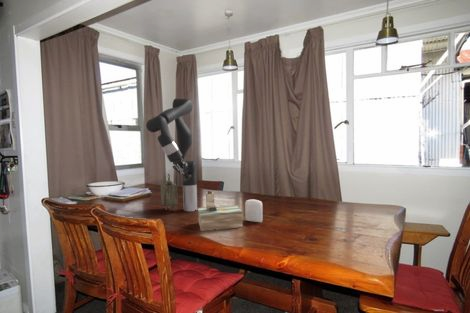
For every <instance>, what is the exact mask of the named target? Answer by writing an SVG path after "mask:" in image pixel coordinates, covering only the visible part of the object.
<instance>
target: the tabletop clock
mask: <svg viewBox="0 0 470 313" xmlns="http://www.w3.org/2000/svg"><path fill="white" fill-rule="evenodd" d="M167 176H168V177H167V180H166V181H165V182H164V184H162V185H160V199H161V200H160V201H161V205H162V206H163V207H166V208H165V209H164V210H165V211H166V210H167V211H168V210H169V208H168V207H170V208H171V209H173V212H177V208H175V206H178V203H179V202H178V186H177V183H174V182H173V181H172V180H171V179H170V178H171V175H170V173H167Z"/></svg>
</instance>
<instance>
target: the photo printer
mask: <svg viewBox="0 0 470 313" xmlns="http://www.w3.org/2000/svg"><path fill="white" fill-rule="evenodd" d="M244 205H245V206H244V211H245V216H244V218H245V221H247V222H248V221H249V222H253V223H262V222H263V220H264V219H263V218H264V217H263V202H262V201H261V200H258V199H253V198H252V199H247V200H245V203H244Z"/></svg>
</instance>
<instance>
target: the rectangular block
mask: <svg viewBox="0 0 470 313" xmlns="http://www.w3.org/2000/svg"><path fill="white" fill-rule="evenodd" d="M197 211H198V215H197V216H198V226H199V229H200V231H201V232H205V231H213V230H214V229H216V230H225V229H236V228H243V213H244V211H243V210H242V209H241V208H240V207H239V206H238V205H235V204H234V205H221V206H220V205H219V206H216V205H215V204H214V207H213V208H209V211H207V209H206V206H205V207H197Z"/></svg>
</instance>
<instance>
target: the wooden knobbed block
mask: <svg viewBox="0 0 470 313" xmlns="http://www.w3.org/2000/svg"><path fill="white" fill-rule="evenodd" d="M205 203H206V204H205V207H206V209H207V211H209V208H213V207H214V205H215V193H214V192H213V191H212V190H207V192H206V193H205Z"/></svg>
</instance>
